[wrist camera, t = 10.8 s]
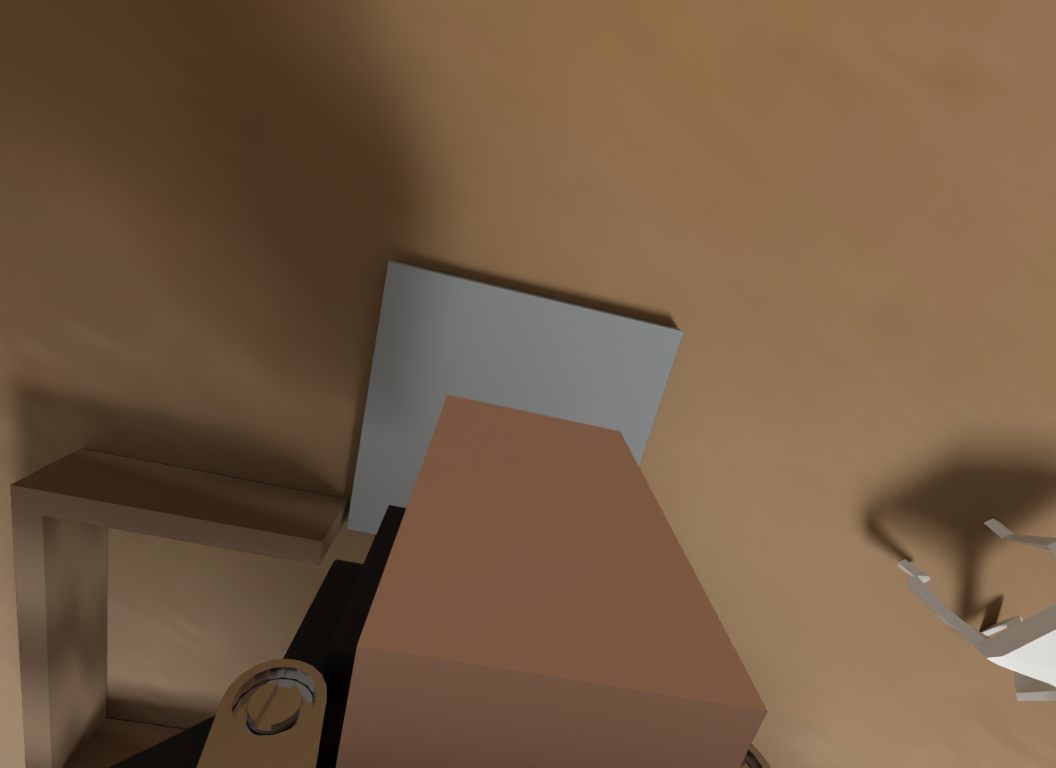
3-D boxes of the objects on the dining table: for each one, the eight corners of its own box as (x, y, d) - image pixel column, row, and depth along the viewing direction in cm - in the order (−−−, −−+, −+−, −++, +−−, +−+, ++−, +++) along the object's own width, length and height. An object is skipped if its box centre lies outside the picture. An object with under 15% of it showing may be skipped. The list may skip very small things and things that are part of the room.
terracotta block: (619, 431, 12) (767, 710, 5) (536, 695, 14) (560, 1127, 7) (447, 394, 11) (358, 645, 5) (390, 672, 14) (275, 1109, 7)
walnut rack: (307, 761, 25) (281, 829, 23) (84, 730, 24) (27, 797, 22) (348, 499, 21) (322, 541, 18) (81, 448, 20) (10, 484, 17)
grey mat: (600, 567, 23) (602, 576, 22) (350, 521, 22) (346, 529, 21) (678, 328, 20) (683, 331, 19) (391, 260, 19) (388, 261, 18)
